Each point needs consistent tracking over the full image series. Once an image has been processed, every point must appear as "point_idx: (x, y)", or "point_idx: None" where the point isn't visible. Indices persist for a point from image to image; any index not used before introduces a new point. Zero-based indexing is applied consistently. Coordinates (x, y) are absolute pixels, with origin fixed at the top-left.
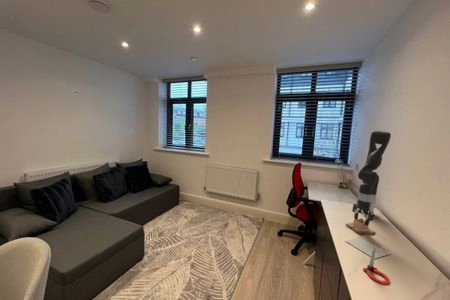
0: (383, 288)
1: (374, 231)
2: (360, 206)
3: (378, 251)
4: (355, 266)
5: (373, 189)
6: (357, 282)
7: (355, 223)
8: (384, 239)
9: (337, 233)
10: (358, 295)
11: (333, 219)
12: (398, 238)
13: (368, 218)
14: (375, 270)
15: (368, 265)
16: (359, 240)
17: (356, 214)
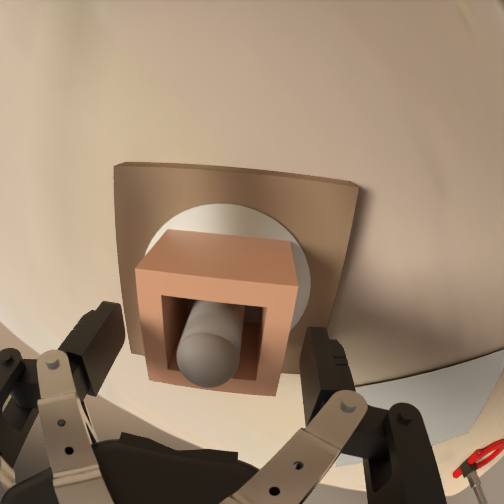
0: (494, 458)
1: (342, 187)
2: None
3: (472, 391)
4: None
5: None
6: (452, 487)
7: None
8: (444, 192)
9: (254, 455)
10: (460, 491)
11: (45, 340)
12: (453, 17)
13: (372, 470)
14: (479, 458)
15: (465, 476)
16: None
17: (93, 386)
